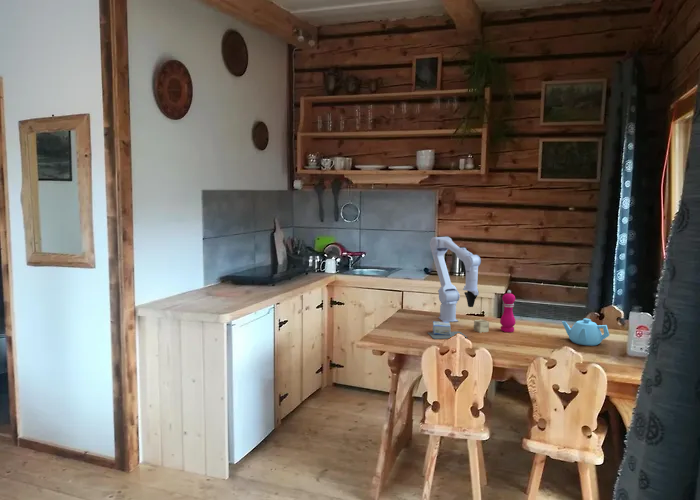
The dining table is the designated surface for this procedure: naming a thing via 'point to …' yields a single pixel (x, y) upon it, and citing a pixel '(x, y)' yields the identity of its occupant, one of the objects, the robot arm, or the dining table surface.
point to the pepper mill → (508, 313)
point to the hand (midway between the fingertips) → (470, 306)
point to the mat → (444, 335)
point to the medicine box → (441, 328)
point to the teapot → (586, 332)
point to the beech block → (481, 326)
